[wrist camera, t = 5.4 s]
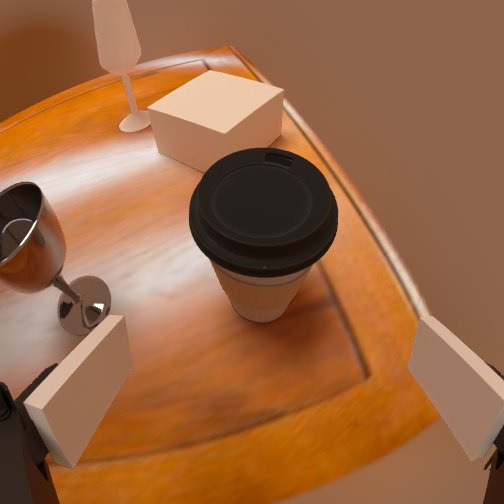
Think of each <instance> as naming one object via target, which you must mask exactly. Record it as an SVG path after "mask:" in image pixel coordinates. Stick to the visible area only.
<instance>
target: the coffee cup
mask: <svg viewBox="0 0 504 504" xmlns="http://www.w3.org/2000/svg"><path fill="white" fill-rule="evenodd" d="M189 225H190V230H191V233H192V236H193V238H194V241H195V242H196V244H197V246H198V247H199V248H200V250H201V251H202V252H203V253H204V254H205V255H206V256H207V257H208V258H209V259H210V261H211V263H212V266H213V268H214V270H215V272H216V275H217V277H218V279H219V281H220V284H221V286H222V288H223V290H224V291H225V293H226V294H227V295H228V297H229V299H230V301H231V304H232V306H233V308H234V309H235V310H236V312H237V313H238V314H239V315H241V316H242V317H244V318H246V319H248V320H251V321H254V322H270V321H273V320H275V319H277V318H278V317H280V316H281V315H282V314H283V313H284V311H285V310H286V308H287V306H288V305H289V303H290V301H291V300H292V299H293V298H294V297H295V295H296V294H297V292H298V290H299V289H300V287H301V285H302V283H303V282H304V280H305V278H306V276H307V274H308V273H309V271H310V269H311V267H312V265H313V264H314V263H315V262H317V261H318V260H319V259H320V258H321V257H322V256H323V255H324V254H325V253H326V252H327V251H328V249H329V248H330V246H331V245H332V243H333V241H334V238H335V236H336V232H337V226H338V206H337V202H336V199H335V196H334V194H333V192H332V190H331V189H330V187H329V184H328V182H327V180H326V178H325V177H324V175H323V174H322V173H321V171H320V170H319V169H318V168H317V167H316V166H315V165H313V164H312V163H311V162H309V161H308V160H306V159H305V158H303V157H301V156H299V155H297V154H294V153H292V152H289V151H285V150H281V149H275V148H250V149H244V150H240V151H237V152H234V153H231V154H229V155H227V156H225V157H223V158H221V159H219V160H218V161H217V162H215V163H214V164H213V165H212V166H211V167H210V168H209V169H208V170H207V171H206V172H205V174H204V175H203V177H202V179H201V181H200V182H199V184H198V185H197V187H196V188H195V190H194V192H193V195H192V197H191V201H190V207H189Z"/></svg>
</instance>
